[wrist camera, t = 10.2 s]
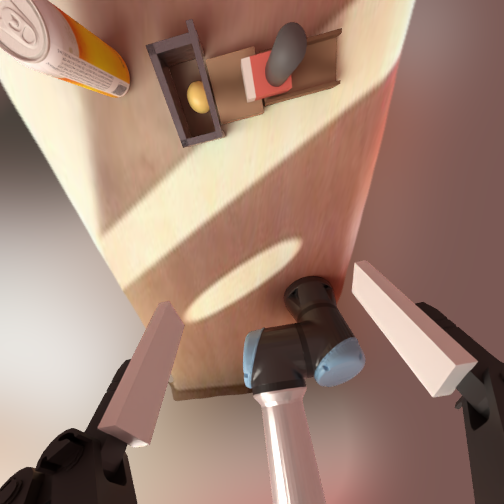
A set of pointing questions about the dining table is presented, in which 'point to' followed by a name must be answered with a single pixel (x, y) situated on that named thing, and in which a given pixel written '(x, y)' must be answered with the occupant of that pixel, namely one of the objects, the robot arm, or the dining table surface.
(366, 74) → the dining table surface
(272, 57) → the post on red base
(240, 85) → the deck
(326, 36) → the rail
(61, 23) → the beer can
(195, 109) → the ball
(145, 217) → the dining table surface
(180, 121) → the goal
